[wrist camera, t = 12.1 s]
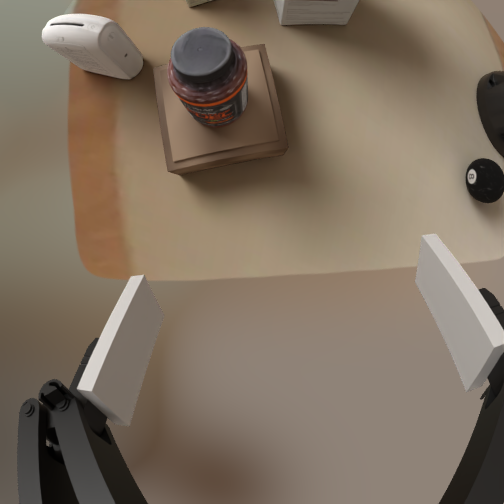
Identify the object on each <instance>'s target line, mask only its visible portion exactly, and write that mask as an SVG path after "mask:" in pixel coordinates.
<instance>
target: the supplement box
mask: <svg viewBox="0 0 504 504" xmlns="http://www.w3.org/2000/svg"><path fill="white" fill-rule="evenodd" d="M358 2H359V0H274V3H275V7H276V10H277V14H278V18H279V21H280V24H281V25H296V24H339V25H346V24H347V22H348V21H349V19H350V17H351V15H352V13H353V11H354V9H355V8H356V6H357V4H358Z"/></svg>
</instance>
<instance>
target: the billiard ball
mask: <svg viewBox="0 0 504 504" xmlns="http://www.w3.org/2000/svg"><path fill="white" fill-rule="evenodd" d="M466 185H467V188H468V190H469V192H470V194H471V195H472V196H473V197H474V198H475V199H476V200H478V201H480V202H483V203H492V202H495V201H497V200H498V199H499V198H500V197H501V196H502V194H503V192H504V174H503V171H502V169H501V168H500V166H499V165H498V164H497V163H495V162H494V161H492V160H490V159H485V158H481V159H477V160H475V161H473V162H472V163H471V164H470V166H469V167H468V169H467V173H466Z"/></svg>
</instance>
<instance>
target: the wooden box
mask: <svg viewBox="0 0 504 504" xmlns="http://www.w3.org/2000/svg"><path fill="white" fill-rule="evenodd" d="M240 48H241V49H242V51H243V52H244V54H245V57H246V61H247V71H248V103H247V106H246V109H245V111H244V113H243V114H242V116H241V117H240V118H239V119H238V120H236V121H235V122H233V123H231V124H229V125H227V126H223V127H209V126H205V125H203V124H201V123H199V122H197V121H196V120H195V119H194V118H193V117H192V116H191V115H190V113H189V112H188V110H187V109H186V108H185V106H184V105H183V104H182V102H181V101H180V100H179V98H178V97H177V95H176V94H175V93H174V91H173V90H172V88H171V86H170V84H169V81H168V77H167V68H168V64H169V63H168V64H165V65H161V66H158V67H155V68H153V72H154V81H155V89H156V97H157V105H158V112H159V120H160V126H161V133H162V140H163V146H164V152H165V158H166V164H167V170H168V172H171V173H174V174H177V175H183V174H188V173H192V172H196V171H201V170H205V169H210V168H215V167H219V166H224V165H229V164H234V163H239V162H245V161H250V160H255V159H261V158H267V157H273V156H279V155H284V153H285V152H286V150H287V149H288V143H287V138H286V133H285V128H284V124H283V119H282V115H281V110H280V106H279V101H278V97H277V93H276V88H275V84H274V80H273V76H272V72H271V68H270V64H269V60H268V56H267V52H266V48H265V44H260V45H253V46H246V47H240Z"/></svg>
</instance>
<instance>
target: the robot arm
mask: <svg viewBox="0 0 504 504" xmlns="http://www.w3.org/2000/svg"><path fill="white" fill-rule="evenodd" d="M477 104H478V110H479V114H480V118H481V121H482V124H483V126H484V129H485V131H486V133H487V135H488V137H489V139H490V141H491V142H492V144H493V145H494V147H495V148H496V149H497V151H498V152H499V153H500V154H501V155H502V156H503V157H504V71H494V72H491V73H489V74H487V75H485V76H483V77H482V78H481V79H480V81H479V83H478V87H477ZM415 283H416V285H417V287H418V289H419V290H420V292H421V294H422V296H423V298H424V300H425V302H426V304H427V306H428V307H429V309H430V311H431V313H432V315H433V317H434V319H435V321H436V323H437V326H438V328H439V330H440V332H441V334H442V336H443V338H444V340H445V343H446V345H447V347H448V349H449V351H450V354H451V356H452V358H453V361H454V363H455V365H456V368H457V370H458V373H459V375H460V377H461V380H462V382H463V385H464V387H465V390H466V392H468V391H471V390H473V389H476V388H478V387H481V386H482V385H483V383H484V382H485V381H486V379H487V378H488V380H489V383H490V385H489V387H488V388H487V389H486V391H485V392H484V393H483V394H482V396H481V398H480V399H483V398H484V397H485V399H484V402H483V405H482V408H481V411H480V414H479V417H478V420H477V423H476V426H475V428H474V431H473V434H472V436H471V439H470V441H469V444H468V446H467V448H466V451H465V453H464V455H463V457H462V460H461V462H460V464H459V466H458V468H457V470H456V472H455V474H454V476H453V478H452V481H451V482H450V485H449V486H448V488H447V490H446V492H445V494H444V495H443V497H442V499H441V501H440V502H439V504H503V503H504V310H503V308H502V306H500V303H499V302H498V301H497V299H496V298H495V296H494V295H493V294H492V293H491V292H489V291H488V290H487V289H485V288H482V289H479V290H478V289H477V288H476V286H475V285H474V283H473V282H472V280H471V279H470V278H469V276H468V275H467V273H466V272H465V271H464V269H463V268H462V267H461V265H460V264H459V263H458V261H457V260H456V259H455V257H454V256H453V255H452V253H451V252H450V251H449V250H448V248H447V247H446V246H445V245H444V243H443V242H442V241H441V240H440V238H439V237H438V236H437V235H436V234H428V235H422V237H421V246H420V253H419V260H418V267H417V274H416V280H415ZM163 318H164V313H163V311H162V309H161V308H160V306H159V304H158V302H157V300H156V298H155V296H154V294H153V292H152V290H151V288H150V286H149V284H148V282H147V280H146V277H145V275H138V276H131V278H130V280H129V281H128V283H127V285H126V287H125V289H124V291H123V293H122V295H121V296H120V298H119V300H118V302H117V304H116V306H115V308H114V310H113V312H112V314H111V316H110V318H109V320H108V322H107V324H106V326H105V328H104V330H103V332H102V334H101V336H100V338H95V340H94V341H93V342H92V343H91V344H90V345H89V346H88V348H87V350H86V353H85V355H84V357H83V359H82V361H81V365H79V368H78V370H77V372H76V374H75V376H74V379H73V381H72V383H71V386H70V388H69V390H68V389H67V388H66V387H65V386H64V385H63V384H62V383H61V382H60V381H58V380H57V379H56V380H55V379H53V380H50V381H48V382H47V383H45V384H44V385H43V387H42V388H41V390H40V393H39V400H40V401H41V402H42V403H43V404H41V403H40V402H39V401H38V400H36V399H34V398H30V399H28V400H26V401H25V402H24V403H23V405H22V406H21V409H20V413H19V426H18V448H17V449H18V451H17V454H18V455H17V465H18V466H17V469H18V470H17V471H18V491H19V504H148V503H147V501H146V500H145V498H144V496H143V495H142V493H141V491H140V489H139V488H138V486H137V484H136V482H135V480H134V479H133V477H132V475H131V473H130V471H129V469H128V467H127V465H126V463H125V461H124V459H123V457H122V455H121V453H120V451H119V448H118V447H117V444H116V443H115V440H114V438H113V435H112V433H111V431H110V428H109V427H108V425H107V424H106V420H107V418H108V419H109V420H111V421H112V422H113V423H114V424H118V425H124V426H130V422H131V419H132V416H133V412H134V409H135V405H136V402H137V398H138V395H139V392H140V388H141V385H142V382H143V379H144V375H145V372H146V369H147V366H148V363H149V360H150V357H151V353H152V351H153V347H154V344H155V341H156V338H157V335H158V332H159V330H160V327H161V324H162V321H163ZM485 395H486V396H485ZM46 440H48V441H49V442H50V444H49V447H48V446H46Z"/></svg>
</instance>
